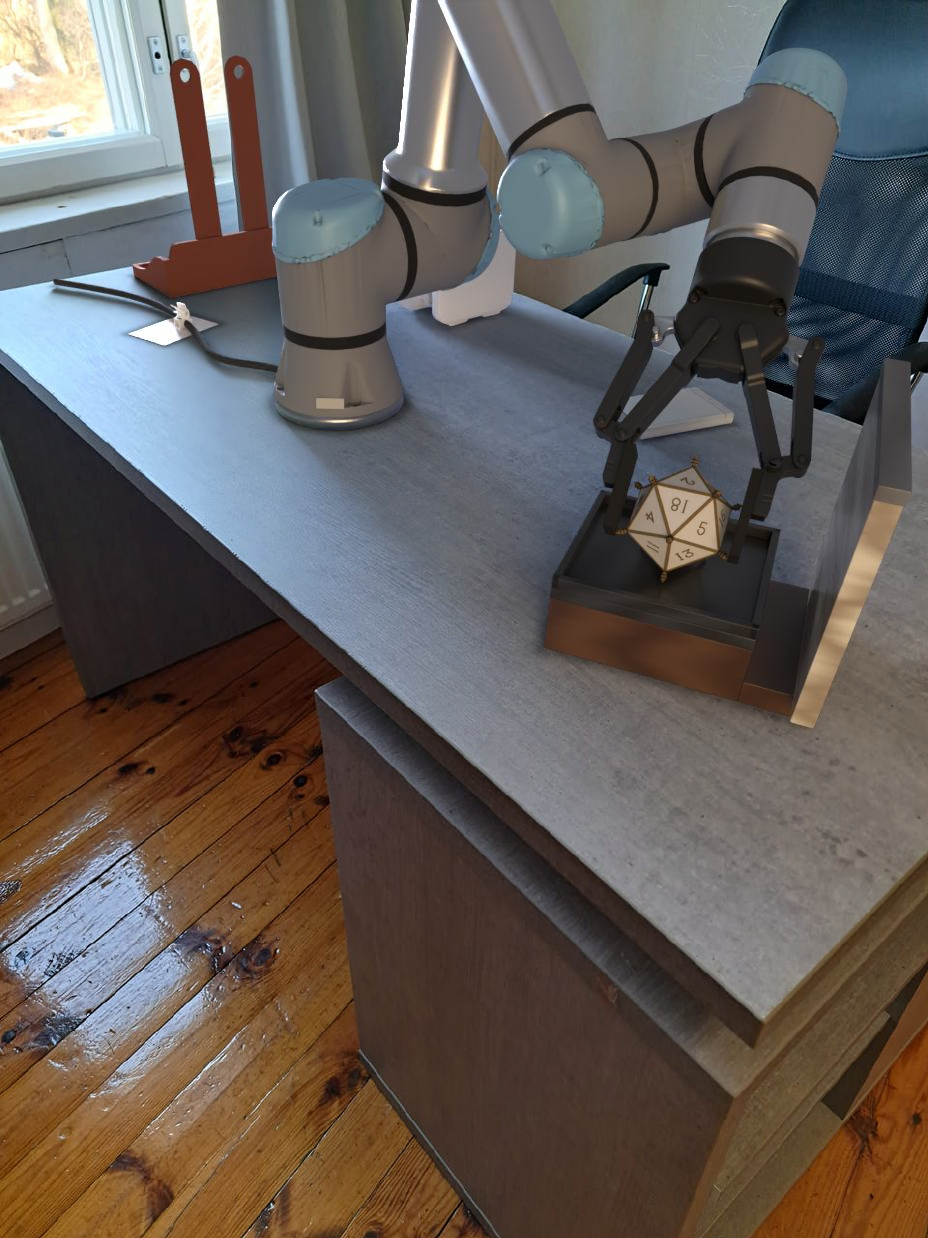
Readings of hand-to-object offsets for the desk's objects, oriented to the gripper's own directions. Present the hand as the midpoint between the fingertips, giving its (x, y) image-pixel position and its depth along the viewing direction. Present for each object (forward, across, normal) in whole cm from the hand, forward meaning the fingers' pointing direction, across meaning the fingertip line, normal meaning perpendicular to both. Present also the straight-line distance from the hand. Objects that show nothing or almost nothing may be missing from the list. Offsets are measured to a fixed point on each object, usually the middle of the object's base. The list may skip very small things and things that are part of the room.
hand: (670, 544), depth 63 cm
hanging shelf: (-39, +84, -52) cm, 107 cm away
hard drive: (-23, +7, -37) cm, 44 cm away
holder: (+4, -3, -9) cm, 11 cm away
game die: (0, 0, -5) cm, 5 cm away
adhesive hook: (-22, +76, -35) cm, 87 cm away
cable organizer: (-39, +44, -52) cm, 79 cm away
